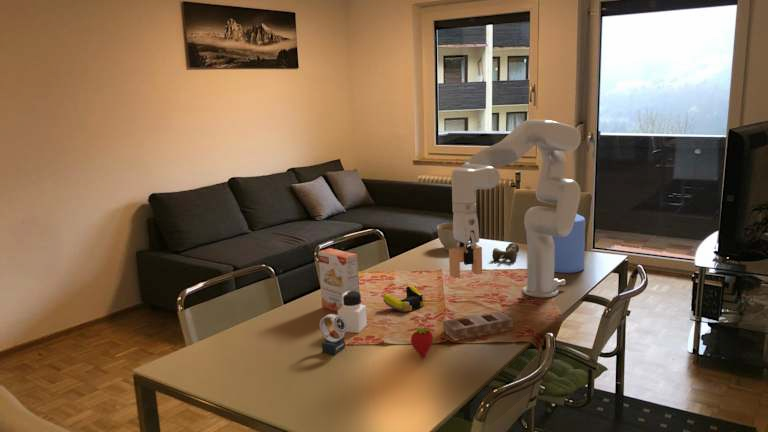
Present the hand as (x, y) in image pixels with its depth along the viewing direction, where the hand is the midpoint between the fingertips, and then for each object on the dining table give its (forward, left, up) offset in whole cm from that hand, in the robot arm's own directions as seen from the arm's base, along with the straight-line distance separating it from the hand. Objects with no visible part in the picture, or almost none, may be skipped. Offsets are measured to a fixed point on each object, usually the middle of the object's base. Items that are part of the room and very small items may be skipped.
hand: (465, 261), depth 201 cm
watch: (+47, +7, -19) cm, 51 cm away
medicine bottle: (+37, -7, -19) cm, 42 cm away
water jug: (-60, -31, -19) cm, 70 cm away
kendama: (-46, -53, -19) cm, 73 cm away
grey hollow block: (+2, +12, -19) cm, 23 cm away
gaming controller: (+14, -18, -19) cm, 30 cm away
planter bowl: (-34, -79, -19) cm, 88 cm away
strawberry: (+25, +22, -19) cm, 39 cm away
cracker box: (+36, -25, -19) cm, 48 cm away
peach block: (0, 0, -4) cm, 4 cm away
